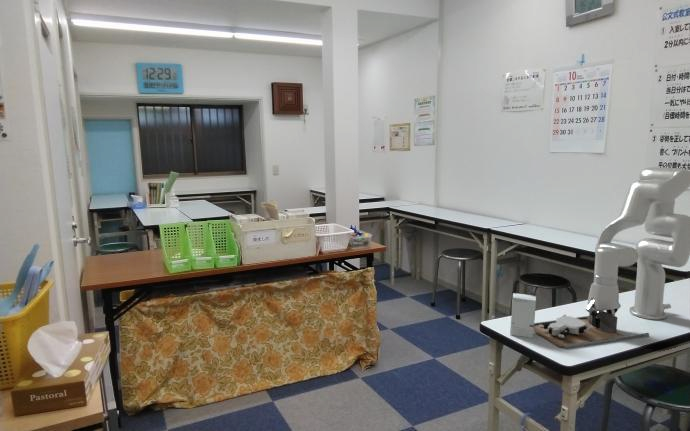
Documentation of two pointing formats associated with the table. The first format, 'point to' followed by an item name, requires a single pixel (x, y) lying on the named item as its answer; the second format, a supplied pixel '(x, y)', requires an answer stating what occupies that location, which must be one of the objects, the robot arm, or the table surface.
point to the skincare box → (523, 315)
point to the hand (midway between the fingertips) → (602, 325)
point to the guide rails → (596, 340)
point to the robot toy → (565, 326)
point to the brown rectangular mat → (604, 332)
